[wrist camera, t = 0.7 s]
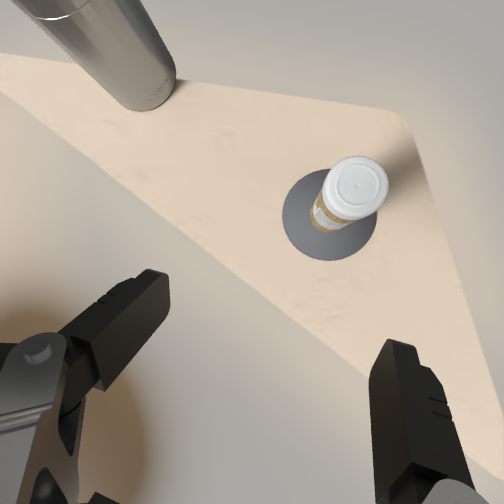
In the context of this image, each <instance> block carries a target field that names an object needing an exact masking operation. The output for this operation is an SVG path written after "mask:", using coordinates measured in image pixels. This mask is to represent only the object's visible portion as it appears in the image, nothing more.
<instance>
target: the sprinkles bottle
mask: <svg viewBox="0 0 504 504" xmlns="http://www.w3.org/2000/svg"><path fill="white" fill-rule="evenodd" d="M388 191H389V180H388V176H387V174H386V172H385V170H384V169H383V167H382V166H381V165H380V164H379V163H378V162H376V161H375V160H373V159H371V158H368V157H364V156H352V157H348V158H345V159H343V160H341V161H339V162H338V163H337V164H335V165H334V166H333V167H332V169H331V170H330V171H329V173H328V175H327V177H326V179H325V181H324V183H323V188H322V190H321V191H320V193H319V195H318V196H317V198H316V200H315V202H314V203H313V205H312V207H311V210H310V218H311V221H312V223H313V225H314V226H315V227H316V228H317V229H318V230H320V231H322V232H326V233H331V232H336V231H338V230H340V229H341V228H343V227H345V226H347V225H349V224H350V223H352V222H354V221H356V220H358V219H362V218H365V217H367V216H369V215H370V214H372V213H374V212H375V211H376V210H378V209H379V208H380V207H381V206H382V204H383V203H384V202H385V200H386V198H387V195H388Z"/></svg>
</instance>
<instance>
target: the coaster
mask: <svg viewBox="0 0 504 504" xmlns="http://www.w3.org/2000/svg"><path fill="white" fill-rule="evenodd" d="M330 170H331V169H327V170H320V171H316V172H313V173H310V174H308V175H306V176H305V177H303V178H302V179H300V180H299V181H298V182H297V183H296V184H295V185H294V186H293V187H292V188H291V190H290V191H289V193H288V195H287V197H286V199H285V202H284V206H283V214H282V218H283V225H284V229H285V232H286V234H287V236H288V238H289V240H290V241H291V242H292V244H293V245H294V246H295V247H296V248H297V249H298V250H299V251H301V252H302V253H304V254H305V255H307V256H309V257H311V258H315V259H318V260H325V261H332V260H339V259H343V258H346V257H348V256H350V255H352V254H354V253H356V252H357V251H359V250H360V249H361V248H362V247H363V246H364V245H365V244H366V243H367V241H368V240H369V238H370V237H371V235H372V233H373V230H374V227H375V223H376V211H375V212H374V213H372V214H370V215H369V216H367V217H365V218H362V219H358V220H356V221H354V222H352V223H350V224H349V225H347V226H345V227H343V228H341V229H340V230H338V231H336V232H331V233H326V232H322V231H320V230H318V229H317V228H316V227H315V226H314V225H313V223H312V221H311V218H310V210H311V207H312V205H313V203H314V202H315V200H316V198H317V196H318V195H319V193H320V191H321V190H322V188H323V183H324V181H325V179H326V177H327V175H328V173H329V171H330Z"/></svg>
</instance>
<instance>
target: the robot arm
mask: <svg viewBox="0 0 504 504" xmlns="http://www.w3.org/2000/svg"><path fill="white" fill-rule="evenodd" d="M11 1H12V2H13V3H14V4H15V5H16V6H17V7H18V8H19V9H20V10H22V11H23V12H24V13H25V14H26V15H27V16H28V17H29V18H30V19H31V20H32V21H33V22H34V23H35V24H36V25H37V26H38V27H39V28H41V29H42V30H43V31H44V32H45V33H46V34H47V35H48V36H49V37H50V38H51V39H52V40H53V41H54V42H55V43H57V45H59V46H60V47H61V48H62V49H63V50H64V51H65V52H66V53H67V54H68V55H69V56H70V57H71V58H72V59H73V60H75V62H76V63H78V64H79V65H80V66H81V67H82V68H83V69H84V70H85V71H86V72H87V73H88V74H89V75H90V76H91V77H92V78H93V79H94V80H95V81H97V82H98V83H99V84H100V85H101V86H102V87H103V88H104V89H105V90H106V91H107V92H108V93H109V94H110V95H111V96H112V97H113V98H114V99H116V100H117V101H118V102H119V103H120V104H121V105H122V106H124V107H125V108H127V109H130V110H133V111H148V110H151V109H154V108H156V107H157V106H159V105H161V104H162V103H163V102H164V101H165V100H166V99H167V98H168V96H169V95H170V94H171V92H172V90H173V88H174V85H175V81H176V68H175V64H174V61H173V59H172V57H171V55H170V53H169V51H168V50H167V48H166V46H165V44H164V43H163V41H162V39H161V37H160V35H159V33H158V31H157V30H156V28H155V26H154V24H153V23H152V21H151V19H150V17H149V15H148V13H147V12H146V10H145V8H144V6H143V4H142V3H141V1H140V0H11ZM169 291H170V290H169V277H168V275H167V274H165V273H162V272H159V271H155V270H152V269H146V270H144V271H143V272H142V273H141V274H140V275H138V276H137V277H136V278H135V279H134V278H130V279H127V280H125V281H123V282H121V283H118V284H117V285H115V286H114V287H113V288H112V289H110V290H109V291H108V292H107V293H106V295H103V296H102V297H101V298H99V299H98V300H97V302H94V303H93V304H92V305H91V306H89V307H88V308H87V309H86V310H84V311H83V312H82V313H81V314H80V315H78V316H77V317H76V318H75V319H73V320H72V321H71V322H70V323H68V324H67V325H66V326H65V327H63V328H62V329H61V330H60V331H59V332H57V333H54V332H48V333H41V334H37V335H34V336H32V337H29V338H27V339H25V340H23V341H22V342H20V343H19V344H17V343H16V344H15V343H0V504H78V499H79V473H78V456H79V449H80V442H81V434H82V427H83V420H84V412H85V405H86V394H87V393H88V392H89V391H90V389H91V388H92V387H94V388H97V389H99V390H101V391H104V392H105V391H106V390H107V389H108V387H109V386H110V385H111V384H112V383H113V381H114V380H115V379H116V378H117V377H118V375H119V374H120V373H121V372H122V371H123V369H124V368H125V367H126V366H127V365H128V363H129V362H130V361H131V360H132V358H133V357H134V356H135V355H136V354H137V352H138V351H139V350H140V349H141V347H142V346H143V345H144V344H145V343H146V342H147V340H148V339H149V338H150V337H151V336H152V334H153V333H154V332H155V331H156V329H157V328H158V327H159V326H160V325H161V323H162V322H163V321H164V320H165V318H166V316H167V315H168V312H169V309H170V292H169ZM369 401H370V418H371V435H372V451H373V467H374V484H375V500H376V504H489V503H488V502H487V501H486V500H485V499H484V498H483V497H482V496H481V495H479V494H478V493H477V492H476V490H475V487H474V485H473V482H472V479H471V476H470V472H469V469H468V466H467V463H466V460H465V457H464V453H463V450H462V447H461V444H460V440H459V437H458V434H457V431H456V428H455V425H454V422H453V421H452V415H451V412H450V409H449V406H447V403H448V402H447V399H446V396H445V393H444V389H443V386H442V384H441V383H440V381H439V380H438V379H437V377H436V376H435V374H434V373H433V371H432V370H431V369H430V368H428V367H425V366H422V365H420V362H419V358H418V354H417V350H416V348H415V346H413V345H410V344H406V343H403V342H399V341H396V340H392V339H387V340H386V342H385V344H384V345H383V347H382V349H381V351H380V353H379V355H378V357H377V359H376V361H375V363H374V365H373V367H372V369H371V372H370V377H369ZM80 504H119V503H117V502H115V501H113V500H111V499H109V498H107V497H105V496H103V495H101V494H99V493H97V492H95V493H94V495H93V496H92V498H91V499H90V501H89V502H88V503H80Z"/></svg>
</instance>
